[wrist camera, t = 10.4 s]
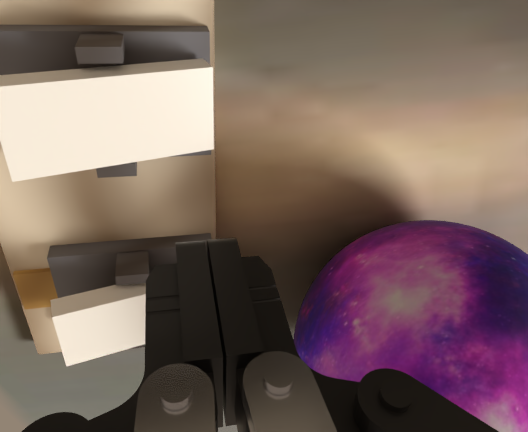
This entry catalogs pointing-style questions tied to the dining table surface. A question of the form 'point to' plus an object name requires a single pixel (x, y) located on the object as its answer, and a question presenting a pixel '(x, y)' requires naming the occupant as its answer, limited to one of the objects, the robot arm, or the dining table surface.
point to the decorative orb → (426, 316)
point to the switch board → (105, 178)
